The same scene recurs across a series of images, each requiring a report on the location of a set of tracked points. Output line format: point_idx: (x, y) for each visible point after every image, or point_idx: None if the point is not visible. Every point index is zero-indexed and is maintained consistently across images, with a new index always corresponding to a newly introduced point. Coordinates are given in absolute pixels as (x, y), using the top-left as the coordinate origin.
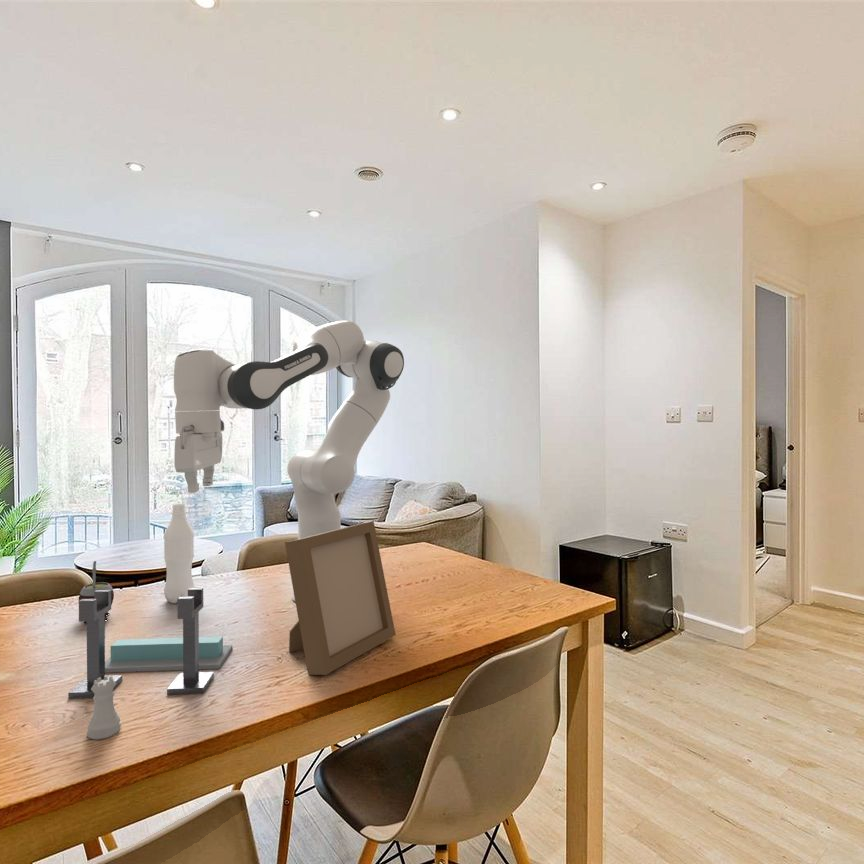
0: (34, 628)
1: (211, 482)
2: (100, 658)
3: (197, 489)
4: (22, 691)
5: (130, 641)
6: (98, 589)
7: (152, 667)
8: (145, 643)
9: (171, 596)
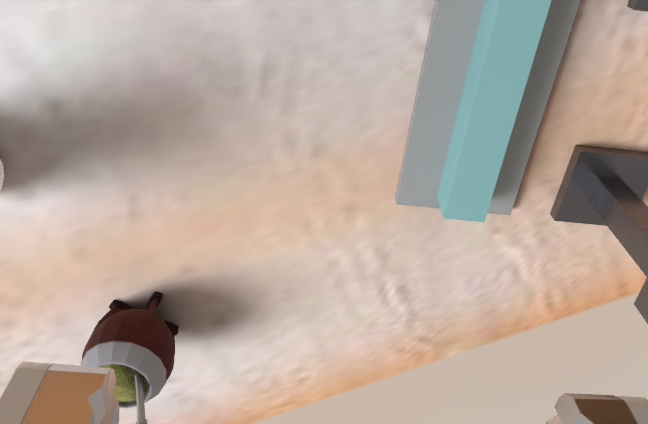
0: (200, 403)
1: (67, 389)
2: (645, 212)
3: (638, 412)
4: (546, 305)
5: (469, 185)
6: (148, 371)
7: (548, 94)
8: (499, 143)
9: (1, 183)
